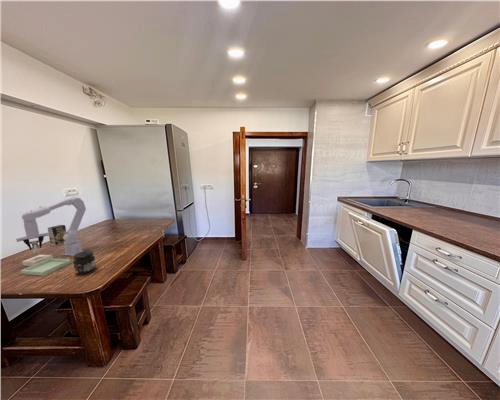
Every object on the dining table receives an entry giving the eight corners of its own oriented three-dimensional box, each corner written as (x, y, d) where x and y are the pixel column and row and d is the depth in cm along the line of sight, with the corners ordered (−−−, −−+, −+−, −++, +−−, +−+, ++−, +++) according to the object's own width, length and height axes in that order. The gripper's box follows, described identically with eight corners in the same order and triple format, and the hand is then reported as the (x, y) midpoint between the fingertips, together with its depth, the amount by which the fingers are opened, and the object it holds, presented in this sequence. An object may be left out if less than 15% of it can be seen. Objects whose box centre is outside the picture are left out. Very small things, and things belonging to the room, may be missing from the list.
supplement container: (74, 271, 118) (71, 253, 116) (95, 265, 125) (93, 248, 123) (75, 278, 111) (71, 259, 109) (97, 271, 118) (94, 253, 116)
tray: (71, 262, 129) (70, 259, 128) (43, 276, 113) (42, 272, 112) (51, 261, 131) (50, 258, 130) (21, 274, 115) (20, 270, 114)
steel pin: (42, 252, 130) (40, 240, 128) (35, 255, 126) (33, 242, 125) (37, 252, 130) (35, 240, 129) (30, 254, 127) (28, 242, 125)
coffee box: (56, 246, 156) (52, 228, 153) (50, 245, 157) (46, 227, 154) (68, 242, 164) (65, 224, 162) (63, 241, 166) (59, 224, 163)
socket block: (52, 259, 134) (52, 255, 133) (35, 266, 124) (34, 262, 124) (41, 258, 135) (40, 254, 135) (23, 265, 125) (22, 261, 125)
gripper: (46, 225, 133) (50, 243, 136) (14, 231, 122) (18, 250, 124) (47, 227, 129) (51, 246, 131) (14, 233, 118) (19, 253, 120)
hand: (35, 248), depth 128 cm, fingers closed on steel pin, 4 cm apart
